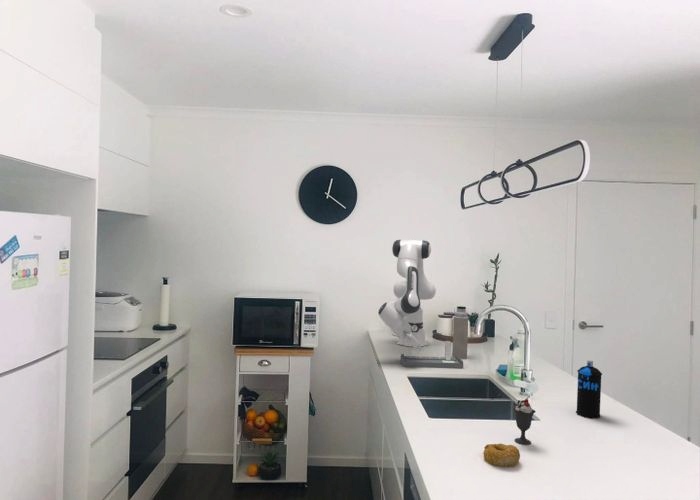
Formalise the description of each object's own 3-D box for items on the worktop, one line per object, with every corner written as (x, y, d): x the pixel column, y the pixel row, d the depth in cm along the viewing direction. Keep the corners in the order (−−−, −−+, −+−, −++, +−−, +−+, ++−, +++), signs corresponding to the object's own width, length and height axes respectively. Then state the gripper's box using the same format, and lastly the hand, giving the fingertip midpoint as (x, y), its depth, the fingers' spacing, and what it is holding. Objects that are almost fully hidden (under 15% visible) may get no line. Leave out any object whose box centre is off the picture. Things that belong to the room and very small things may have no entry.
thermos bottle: (451, 355, 270) (453, 305, 269) (465, 356, 269) (467, 306, 269) (453, 358, 262) (454, 307, 261) (468, 359, 261) (469, 307, 261)
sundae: (532, 448, 146) (533, 398, 145) (509, 442, 149) (511, 394, 149) (536, 440, 151) (538, 393, 151) (514, 435, 155) (516, 389, 155)
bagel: (510, 452, 142) (510, 436, 142) (526, 470, 131) (526, 452, 131) (477, 452, 142) (477, 436, 142) (490, 470, 131) (491, 453, 131)
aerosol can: (580, 409, 183) (582, 357, 183) (603, 415, 177) (605, 361, 177) (572, 414, 177) (574, 360, 177) (596, 420, 172) (598, 364, 171)
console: (400, 360, 253) (400, 353, 253) (457, 362, 253) (457, 355, 253) (403, 366, 240) (403, 359, 240) (463, 368, 240) (463, 361, 240)
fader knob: (444, 358, 248) (445, 340, 248) (449, 358, 248) (449, 340, 248) (445, 359, 245) (446, 341, 245) (450, 360, 245) (451, 342, 245)
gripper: (410, 329, 236) (429, 349, 236) (405, 322, 256) (422, 341, 256) (400, 338, 236) (419, 358, 236) (396, 330, 256) (414, 349, 256)
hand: (421, 349), depth 246 cm, fingers closed
